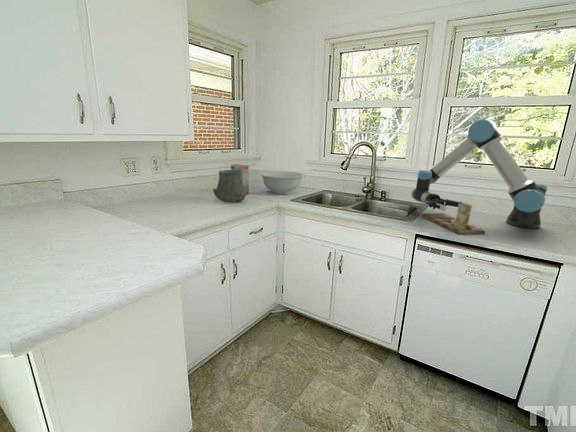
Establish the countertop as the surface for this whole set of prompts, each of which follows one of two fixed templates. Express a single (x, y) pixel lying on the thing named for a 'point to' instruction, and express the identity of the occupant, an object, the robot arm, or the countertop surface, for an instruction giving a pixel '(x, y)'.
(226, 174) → the vessel
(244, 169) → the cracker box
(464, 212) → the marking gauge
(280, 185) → the bowl
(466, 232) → the walnut board
